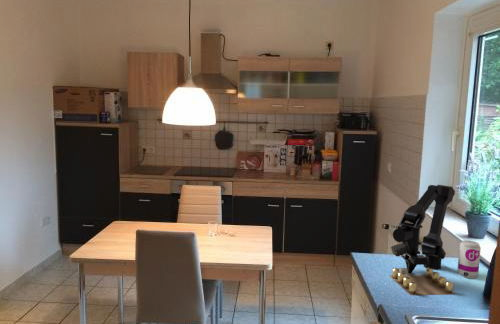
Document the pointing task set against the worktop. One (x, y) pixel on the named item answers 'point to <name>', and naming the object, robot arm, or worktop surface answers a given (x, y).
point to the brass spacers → (429, 275)
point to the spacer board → (424, 286)
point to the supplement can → (469, 259)
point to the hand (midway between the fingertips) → (409, 273)
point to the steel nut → (404, 271)
